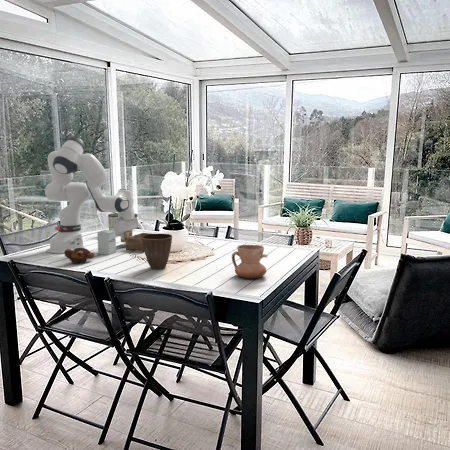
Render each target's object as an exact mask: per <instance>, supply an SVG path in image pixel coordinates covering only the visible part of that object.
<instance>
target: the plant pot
mask: <svg viewBox="0 0 450 450" xmlns="http://www.w3.org/2000/svg"><path fill="white" fill-rule="evenodd" d="M141 238H142V243H143V248H144V251H145V252H144V251H143V252H144V255H145V257H146V260H147V262H148V265H149V267H150V269H151V270H155V271H157V270H164V269H166V267H167V265H168V262H169V258H170V257H169V256H170V254H171V250H172V249H171V248H172V243H173V242H172V240H173V235H172V234H169V233H152V234H148V235H144V236H142V237H141Z"/></svg>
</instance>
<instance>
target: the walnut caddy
mask: <svg viewBox="0 0 450 450" xmlns="http://www.w3.org/2000/svg"><path fill="white" fill-rule="evenodd" d="M148 234H153V233H152V232H151V233H150V232H141V233H137V234H134V235H132V236H130V237H127V238H126V248H125V250H126V251H134V252H135V250H138V251H137V252H144V248H143V243H142V238H141V237H142V236H144V235H148Z"/></svg>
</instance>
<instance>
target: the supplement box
mask: <svg viewBox="0 0 450 450" xmlns="http://www.w3.org/2000/svg"><path fill="white" fill-rule="evenodd" d="M96 233H97V234H96V235H97V254H98V255H105V256H107V255H109V256H110V255H111V254H114V253H116V251H117V247H116V246H117V244H116V243H117V242H116V241H117V239H116V236H115V231H113V230H109V229H103V230H100V231H97V232H96Z"/></svg>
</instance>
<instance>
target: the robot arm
mask: <svg viewBox="0 0 450 450" xmlns="http://www.w3.org/2000/svg"><path fill="white" fill-rule="evenodd" d="M85 150H86V144H85V142H84V140H82V139H81V138H79V137H78V136H69V138H67V139H66V140H65V141H64V143H63V144H62V145H61V146H60V148H59V150H53V151H51V152H50V153H49V154H48V155H47V165H48V169H49V173H50V176H51V178H52V180H51V182H49V183H48V184H47V185H46V186H45V188H44V194H45V197H46V198H47V199H48V200H50V201H54V202H68V203H69V204H68V206H65V207H63V208H62V209H60V211H59V226H54V230H55V231H57V233H55V235H54V237H53V238H52V239H51V240H50V243H49V244H50V245H49V247H50V248H47V249H46V250H45V252H46V253H48V254H64V252H65V250H67V249H71V250H74V249H76V248H85V249H86V246H85V245H84V241H83V235H82V232H81V230H82V225H81V221H80V220H81V219H80V218H81V216H80V215H81V209H82V207H83V205H84V204H85V202H86V201H88V199H90V197H92V199H93V201H94V204H95V205H94V206H95V208H96V210H98V211H99V212H100V213H118V218H116V220H115V223H114V231H115V233H116V234H120V235H121V236H120V239H121V238H122V240H124V239H125V236H124V232H127V231H132V233H133V231H134V230H137V229H138V228H139V220H138V219H139V218H138V217H139V214H138V213H136V212H134V209H133V206H134V199H133V192H132V191H131V190H130V189H127V188H126V189H125V188H119V189H118V191H117V193H116V194H115V195H107V194H104V193H103V192H102V190H101V188H100V187H101V186H103V185H104V184H105V183H106V181H107V179H108V173H107V170H106V169H105V168H104V166H103V164H102V163H101V161H99V159H98V158H97V157H96V156H95V155H93V153H89V152H88V153H85ZM78 171H80V172H81V173H82V175H83V176H84V178H85V182H80V181H79V182H77V181H73V179H74V174H75V173H77V172H78Z"/></svg>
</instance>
